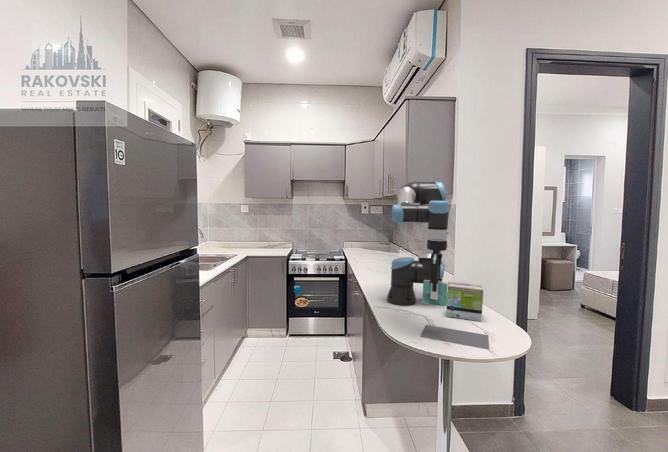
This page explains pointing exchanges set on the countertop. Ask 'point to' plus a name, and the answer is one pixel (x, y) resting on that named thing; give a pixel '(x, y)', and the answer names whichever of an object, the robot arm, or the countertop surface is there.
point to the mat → (456, 336)
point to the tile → (441, 293)
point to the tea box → (464, 301)
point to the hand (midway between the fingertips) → (434, 297)
